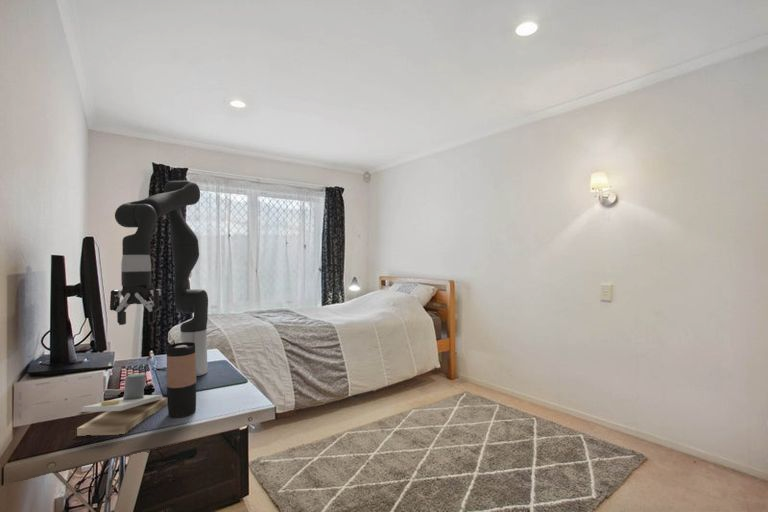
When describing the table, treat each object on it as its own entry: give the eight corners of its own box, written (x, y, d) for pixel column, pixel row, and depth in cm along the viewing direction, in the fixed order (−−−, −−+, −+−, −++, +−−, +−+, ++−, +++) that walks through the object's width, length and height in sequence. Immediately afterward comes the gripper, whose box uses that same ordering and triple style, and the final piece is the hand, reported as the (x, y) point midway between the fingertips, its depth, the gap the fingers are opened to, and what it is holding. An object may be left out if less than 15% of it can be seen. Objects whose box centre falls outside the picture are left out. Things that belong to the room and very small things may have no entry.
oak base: (127, 405, 118) (127, 398, 118) (166, 404, 118) (166, 397, 118) (77, 435, 98) (77, 428, 98) (124, 434, 98) (124, 426, 98)
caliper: (88, 410, 115) (88, 389, 115) (86, 409, 116) (86, 389, 116) (154, 388, 134) (154, 370, 134) (152, 388, 134) (152, 370, 134)
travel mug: (169, 410, 113) (168, 343, 113) (198, 406, 116) (196, 341, 116) (165, 420, 106) (163, 349, 106) (195, 415, 109) (194, 346, 109)
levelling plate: (128, 399, 117) (131, 372, 118) (161, 398, 117) (164, 372, 119) (82, 411, 98) (86, 379, 100) (121, 410, 98) (124, 378, 100)
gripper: (167, 269, 118) (167, 321, 117) (120, 270, 117) (121, 322, 117) (153, 270, 110) (153, 325, 110) (103, 270, 110) (103, 326, 110)
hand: (136, 324), depth 113 cm, fingers open, 8 cm apart
